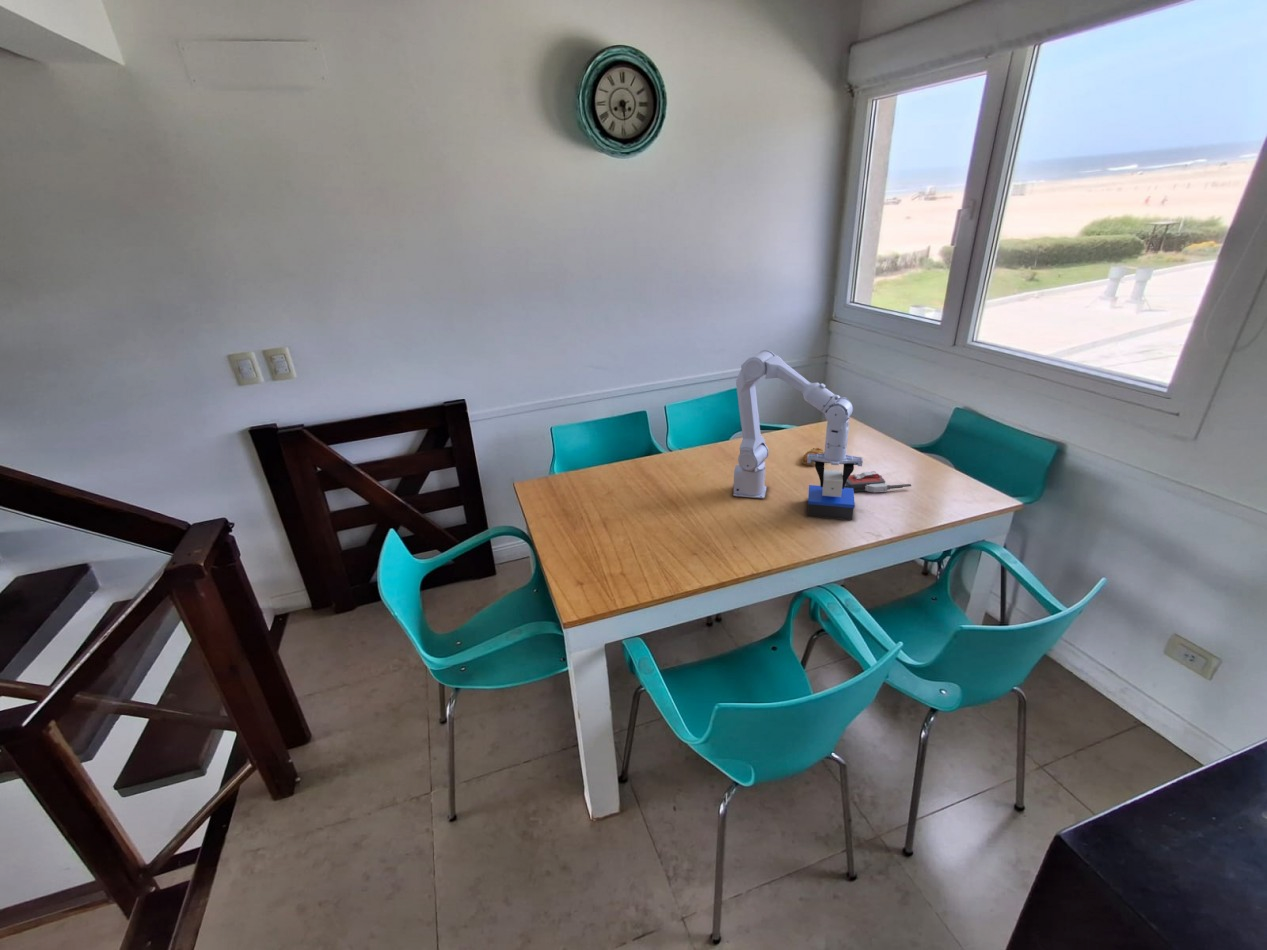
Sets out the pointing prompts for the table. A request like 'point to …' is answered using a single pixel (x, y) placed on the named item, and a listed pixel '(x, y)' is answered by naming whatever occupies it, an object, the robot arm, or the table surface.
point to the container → (830, 504)
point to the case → (832, 483)
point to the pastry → (812, 451)
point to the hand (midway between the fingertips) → (831, 486)
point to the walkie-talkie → (870, 483)
